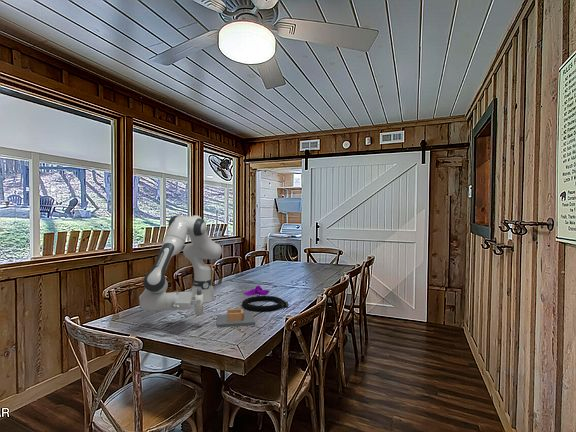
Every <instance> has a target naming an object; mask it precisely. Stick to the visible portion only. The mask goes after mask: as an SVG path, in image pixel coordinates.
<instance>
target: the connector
mask: <svg viewBox="0 0 576 432" xmlns="http://www.w3.org/2000/svg"><path fill="white" fill-rule="evenodd" d="M197 299H200V300H201V303H199V304H194V315H196V316H199V315H200V316H201V315H203V314H204V303H203V294H202V289H201V288H198V289H197V294H196V295H195V300H197Z"/></svg>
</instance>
